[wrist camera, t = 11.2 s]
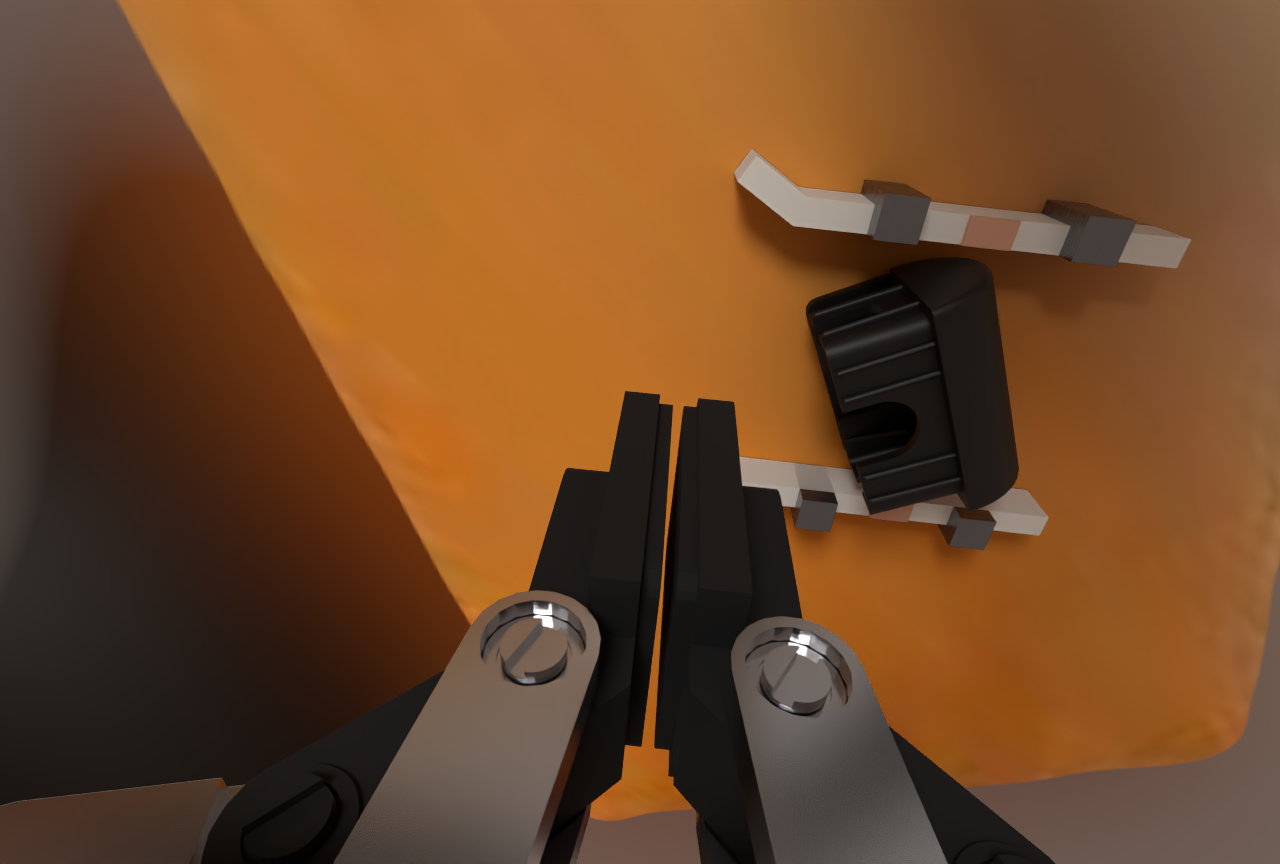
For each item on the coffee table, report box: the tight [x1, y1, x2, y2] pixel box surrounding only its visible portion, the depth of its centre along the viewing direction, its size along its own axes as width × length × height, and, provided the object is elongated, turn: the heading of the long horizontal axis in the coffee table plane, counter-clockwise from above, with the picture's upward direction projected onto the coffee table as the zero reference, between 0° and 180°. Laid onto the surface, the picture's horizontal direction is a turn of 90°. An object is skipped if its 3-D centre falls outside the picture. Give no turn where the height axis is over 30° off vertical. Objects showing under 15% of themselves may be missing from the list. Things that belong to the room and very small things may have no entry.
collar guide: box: [734, 149, 1192, 550], centre depth 31 cm, size 18×19×4 cm
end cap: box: [806, 257, 1019, 515], centre depth 29 cm, size 10×7×7 cm
